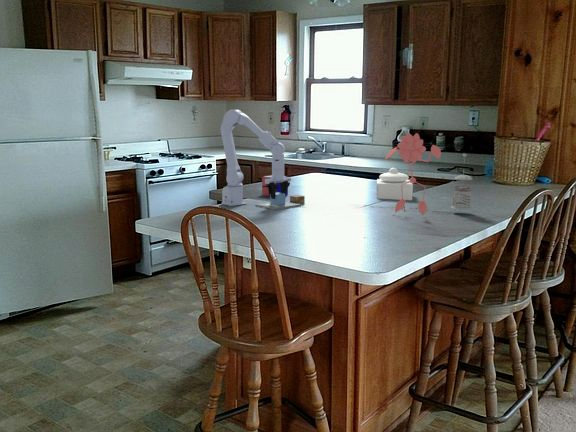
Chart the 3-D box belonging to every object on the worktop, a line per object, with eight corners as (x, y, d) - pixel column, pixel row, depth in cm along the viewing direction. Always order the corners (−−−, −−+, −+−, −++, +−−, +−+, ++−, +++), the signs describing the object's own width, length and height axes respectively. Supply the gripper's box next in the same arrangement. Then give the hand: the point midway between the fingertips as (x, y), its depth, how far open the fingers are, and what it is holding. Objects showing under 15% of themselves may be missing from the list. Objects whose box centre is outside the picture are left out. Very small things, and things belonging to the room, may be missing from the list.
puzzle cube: (276, 197, 300) (276, 178, 298) (261, 195, 306) (261, 176, 304) (288, 195, 307) (288, 176, 306) (273, 193, 313) (273, 174, 312)
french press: (473, 210, 262) (477, 154, 257) (447, 209, 264) (450, 154, 259) (471, 206, 271) (474, 153, 267) (446, 205, 274) (448, 152, 269)
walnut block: (296, 205, 276) (296, 197, 275) (289, 204, 279) (289, 195, 279) (304, 204, 279) (304, 196, 278) (298, 202, 282) (298, 194, 282)
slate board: (275, 210, 261) (274, 208, 261) (255, 206, 271) (255, 204, 271) (300, 206, 272) (300, 204, 272) (281, 202, 282) (281, 200, 282)
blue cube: (277, 205, 268) (277, 194, 267) (270, 204, 272) (270, 193, 271) (285, 204, 271) (285, 193, 270) (278, 202, 275) (278, 192, 274)
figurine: (388, 209, 263) (390, 131, 257) (443, 215, 249) (447, 133, 242) (372, 214, 251) (374, 133, 245) (429, 221, 236) (432, 134, 230)
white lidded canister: (410, 196, 303) (411, 166, 300) (412, 201, 286) (413, 169, 283) (376, 195, 306) (377, 165, 303) (376, 201, 288) (377, 169, 285)
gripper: (271, 170, 261) (271, 200, 263) (295, 168, 270) (295, 197, 273) (261, 169, 266) (262, 198, 268) (285, 167, 275) (285, 195, 278)
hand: (278, 197), depth 271 cm, fingers open, 6 cm apart
